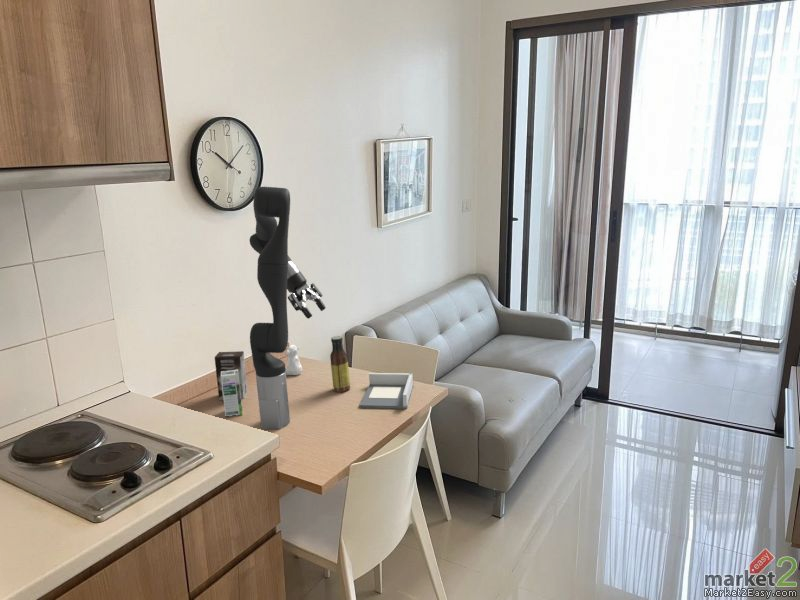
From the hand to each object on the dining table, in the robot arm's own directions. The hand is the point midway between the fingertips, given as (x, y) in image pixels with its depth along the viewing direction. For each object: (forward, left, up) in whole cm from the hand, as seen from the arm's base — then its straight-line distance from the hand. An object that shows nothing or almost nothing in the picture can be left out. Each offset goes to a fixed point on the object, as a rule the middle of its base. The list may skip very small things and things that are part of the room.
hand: (317, 313), depth 213 cm
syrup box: (-24, +24, -28) cm, 44 cm away
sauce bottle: (-2, -8, -28) cm, 29 cm away
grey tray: (-8, -26, -28) cm, 39 cm away
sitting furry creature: (+14, +15, -28) cm, 35 cm away
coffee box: (-10, +30, -28) cm, 43 cm away
